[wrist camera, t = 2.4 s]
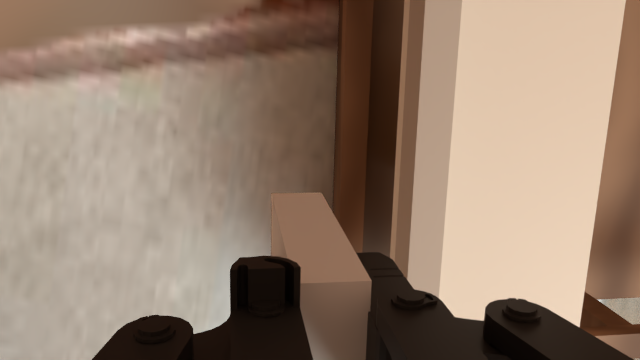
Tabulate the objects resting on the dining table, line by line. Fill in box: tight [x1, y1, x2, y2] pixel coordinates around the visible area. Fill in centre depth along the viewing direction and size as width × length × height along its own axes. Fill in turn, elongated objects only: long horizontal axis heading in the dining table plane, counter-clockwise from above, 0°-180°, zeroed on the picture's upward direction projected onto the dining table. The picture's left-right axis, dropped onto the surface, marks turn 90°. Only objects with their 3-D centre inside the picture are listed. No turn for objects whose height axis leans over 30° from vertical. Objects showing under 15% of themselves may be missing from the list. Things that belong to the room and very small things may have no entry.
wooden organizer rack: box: [333, 0, 640, 359], centre depth 34 cm, size 30×22×10 cm
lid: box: [390, 0, 626, 328], centre depth 26 cm, size 10×22×3 cm, turn 178°
